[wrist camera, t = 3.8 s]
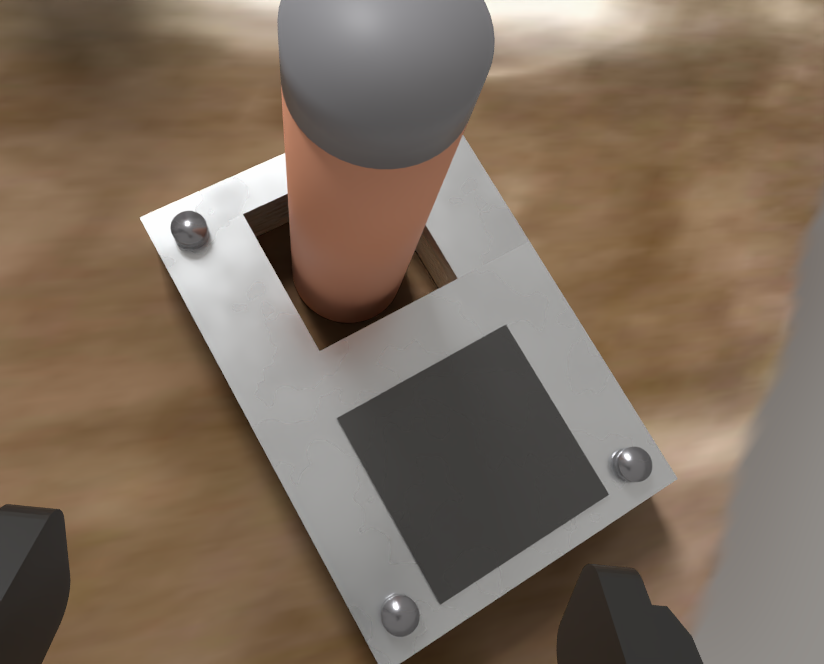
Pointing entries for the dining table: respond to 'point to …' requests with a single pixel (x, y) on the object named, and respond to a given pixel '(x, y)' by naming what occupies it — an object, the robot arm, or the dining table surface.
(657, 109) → the dining table surface
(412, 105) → the plug
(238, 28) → the dining table surface
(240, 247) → the plate
